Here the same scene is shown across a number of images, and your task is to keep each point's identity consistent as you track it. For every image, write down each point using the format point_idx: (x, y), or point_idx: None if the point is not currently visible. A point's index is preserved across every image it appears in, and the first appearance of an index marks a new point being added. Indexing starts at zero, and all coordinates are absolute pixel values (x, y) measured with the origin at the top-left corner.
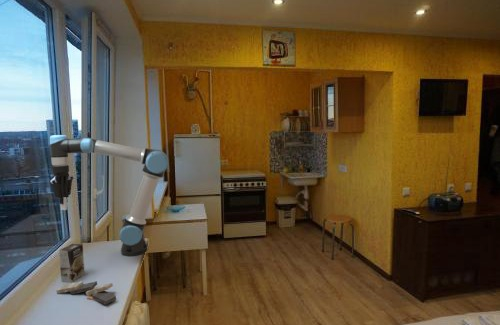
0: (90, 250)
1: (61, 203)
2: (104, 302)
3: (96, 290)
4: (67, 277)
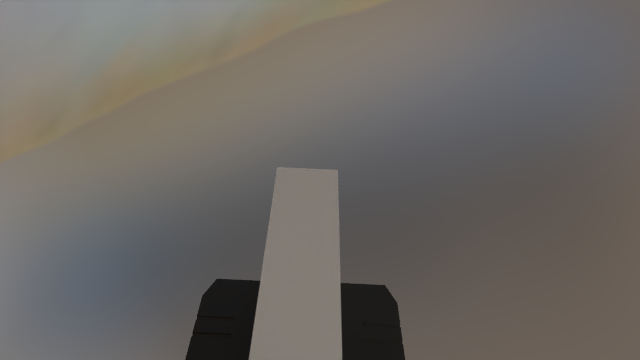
0: (30, 33)
1: (396, 304)
2: None
3: None
4: None
